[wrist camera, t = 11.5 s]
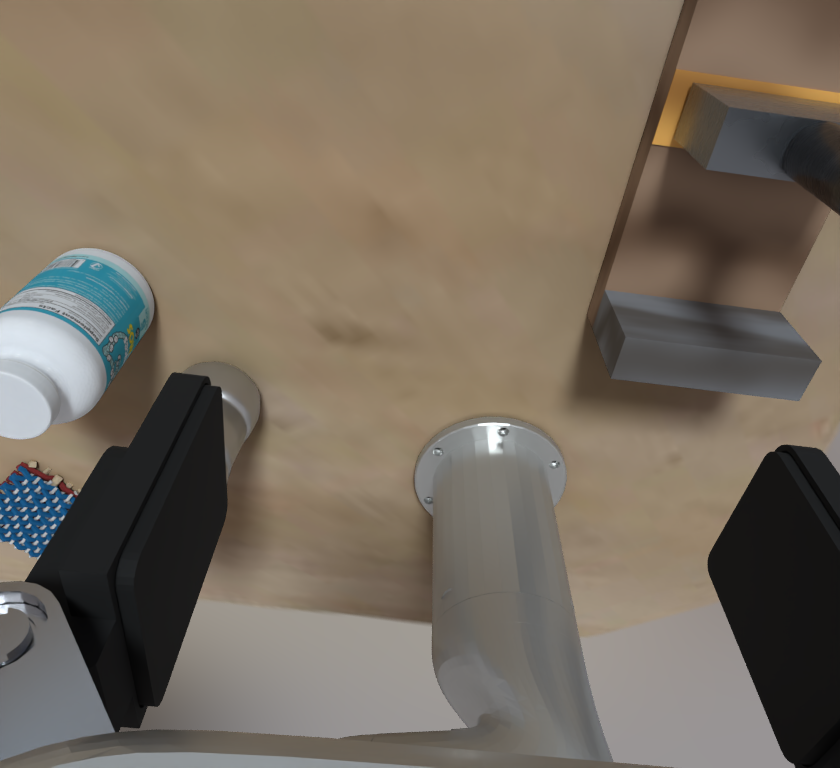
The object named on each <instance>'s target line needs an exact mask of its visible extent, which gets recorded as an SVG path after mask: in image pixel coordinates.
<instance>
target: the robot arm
mask: <svg viewBox="0 0 840 768" xmlns="http://www.w3.org/2000/svg"><path fill="white" fill-rule="evenodd" d="M414 481H415V490H416V493H417V496H418V499H419V501H420V502H421V504H422V505H423V507H424V508H425V510H427V511H428V512H429V513H430V514H431V515H432V516H433V580H432V659H433V666H434V671H435V675H436V678H437V681H438V683H439V685H440V688H441V690H442V692H443V694H444V695H445V697H446V699H447V700H448V702H449V703H450V705H451V706H452V707H453V709H454V710H455V712H456V713H457V714H458V716H459V717H460V718H461V719H462V721H463V722H464V723H465V724H466V726H467V727H468V728H462V729H451V730H450V731H429V732H407V733H387V734H373V735H358V736H349V737H344V738H340V739H333V738H320V737H305V736H289V735H274V734H258V733H243V732H228V731H207V730H204V731H203V730H144V731H128V732H119V730H120V727H129V728H140V725H141V723H142V720H143V717H144V715H145V712H146V709H147V706H155V707H158V706H159V705H160V703H161V701H162V699H163V696H164V694H165V691H166V688H167V685H168V682H169V680H170V677H171V674H172V671H173V668H174V665H175V662H176V660H177V656H178V654H179V651H180V648H181V645H182V642H183V639H184V637H185V634H186V630H187V628H188V625H189V622H190V619H191V616H192V613H193V611H194V608H195V605H196V602H197V599H198V596H199V593H200V591H201V588H202V585H203V582H204V579H205V576H206V573H207V570H208V568H209V565H210V562H211V559H212V556H213V553H214V550H215V547H216V545H217V542H218V539H219V536H220V533H221V530H222V527H223V524H224V521H225V517H226V512H227V482H226V462H225V441H224V421H223V401H222V390H221V387H219V386H211V381H210V378H209V377H208V376H201V375H193V374H184V373H176V372H174V373H172V374H171V375H170V377H169V378H168V380H167V382H166V383H165V385H164V387H163V389H162V390H161V392H160V394H159V396H158V397H157V399H156V401H155V403H154V404H153V406H152V408H151V410H150V411H149V413H148V415H147V417H146V418H145V420H144V422H143V423H142V425H141V427H140V429H139V430H138V432H137V434H136V436H135V437H134V439H133V441H132V443H131V444H130V446H129V448H127V447H118V446H112V447H110V448H108V449H107V450H106V451H105V453H104V454H103V455H102V457H101V458H100V460H99V462H98V463H97V465H96V466H95V468H94V470H93V471H92V473H91V475H90V476H89V478H88V480H87V481H86V483H85V484H84V486H83V488H82V489H81V491H80V493H79V494H78V496H77V497H76V499H75V501H74V502H73V504H72V506H71V507H70V509H69V510H68V512H67V514H66V515H65V517H64V519H63V520H62V522H61V523H60V525H59V527H58V528H57V530H56V532H55V533H54V535H53V536H52V538H51V540H50V541H49V543H48V545H47V546H46V548H45V549H44V551H43V553H42V554H41V556H40V558H39V559H38V561H37V563H36V564H35V566H34V567H33V569H32V571H31V572H30V574H29V576H28V577H27V579H26V580H25V582H23V581H14V582H1V583H0V768H672V767H661V766H650V765H638V764H627V763H615V762H613V759H612V756H611V753H610V751H609V748H608V745H607V742H606V739H605V736H604V733H603V730H602V727H601V724H600V721H599V717H598V714H597V711H596V708H595V704H594V700H593V696H592V692H591V688H590V685H589V680H588V676H587V671H586V667H585V662H584V657H583V652H582V647H581V642H580V637H579V632H578V628H577V622H576V617H575V611H574V606H573V601H572V596H571V591H570V586H569V581H568V577H567V572H566V566H565V561H564V556H563V551H562V546H561V541H560V536H559V531H558V525H557V520H556V515H555V510H554V507H555V506H556V504H557V503H558V502H559V501H560V499H561V497H562V495H563V492H564V490H565V486H566V481H567V474H566V466H565V462H564V458H563V455H562V453H561V451H560V449H559V447H558V446H557V444H556V443H555V442H554V441H553V439H552V438H551V437H550V436H548V435H547V434H546V433H545V432H543V431H542V430H541V429H539V428H537V427H535V426H533V425H531V424H529V423H526V422H523V421H520V420H517V419H512V418H505V417H481V418H474V419H469V420H466V421H463V422H459V423H456V424H454V425H452V426H450V427H448V428H446V429H444V430H443V431H441V432H440V433H438V434H437V435H436V436H434V437H433V438H432V439H431V440H430V441H429V442H428V443H427V444H426V446H425V447H424V448H423V450H422V452H421V453H420V455H419V457H418V460H417V463H416V466H415V478H414ZM708 572H709V575H710V578H711V580H712V583H713V585H714V587H715V590H716V592H717V595H718V597H719V600H720V602H721V605H722V607H723V609H724V612H725V614H726V617H727V619H728V622H729V624H730V626H731V629H732V631H733V634H734V636H735V639H736V641H737V644H738V646H739V648H740V651H741V653H742V656H743V658H744V661H745V663H746V666H747V668H748V670H749V673H750V675H751V678H752V680H753V683H754V685H755V687H756V690H757V692H758V695H759V697H760V700H761V702H762V704H763V707H764V710H765V712H766V714H767V717H768V719H769V722H770V724H771V727H772V729H773V731H774V734H775V736H776V739H777V741H778V744H779V746H780V749H781V751H782V752H783V755H784V756H785V758H786V759H787V760H788V761H789V762H791V763H793V764H794V765H795V768H840V475H839V473H838V472H837V471H836V469H835V468H834V466H833V465H832V463H831V462H830V461H829V459H828V458H827V456H826V455H825V454H824V453H823V452H822V451H821V450H819V449H817V448H811V447H802V446H794V445H781V446H780V447H778V448H777V449H776V450H775V452H769V453H768V454H767V455H766V456H765V457H764V459H763V461H762V463H761V464H760V466H759V468H758V469H757V471H756V473H755V475H754V476H753V478H752V480H751V482H750V483H749V485H748V487H747V489H746V490H745V492H744V494H743V496H742V497H741V499H740V501H739V503H738V504H737V506H736V508H735V510H734V511H733V513H732V515H731V517H730V518H729V520H728V522H727V524H726V525H725V527H724V529H723V531H722V532H721V534H720V536H719V538H718V539H717V541H716V543H715V545H714V546H713V548H712V550H711V552H710V554H709V557H708Z"/></svg>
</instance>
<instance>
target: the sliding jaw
mask: <svg viewBox="0 0 840 768" xmlns="http://www.w3.org/2000/svg"><path fill="white" fill-rule="evenodd" d="M674 139H675V140H676V141H677V142H678V143H679V144H680V145H681V146H682V147H683V148H684V149H685V150H686V151H687V152H688V153H689V154H690V155H691V156H692V157H693V158H694V159H695V160H696V161H698V162H699V163H700V164H701V165H702V166H703V167H704V168H705V169H706V170H712V171H720V172H727V173H734V174H741V175H748V176H756V177H763V178H770V179H777V180H785V181H792V182H796V183H798V184H799V185H800V186H802V187H803V188H804V189H805V190H807V191H808V192H809V193H811V194H812V195H813V196H815V197H816V198H817V199H819V200H820V201H821V202H823V203H824V204H825V205H827V206H828V207H829V208H831V209H832V210H833V211H835V212H836V213H837V214H839V215H840V104H838V103H831V102H824V101H817V100H810V99H803V98H796V97H790V96H783V95H776V94H769V93H762V92H755V91H748V90H742V89H735V88H728V87H721V86H714V85H707V84H700V83H694V82H693V83H692V86H691V89H690V92H689V95H688V98H687V101H686V104H685V107H684V110H683V113H682V116H681V119H680V122H679V124H678V127H677V130H676V133H675V136H674Z"/></svg>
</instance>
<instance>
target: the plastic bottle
mask: <svg viewBox="0 0 840 768" xmlns="http://www.w3.org/2000/svg"><path fill="white" fill-rule="evenodd" d="M183 373H184V374H193V375H201V376H208V377H209V378H210V381H211V386H219V387H221V390H222V401H223V421H224V441H225V462H226V482H228V478H229V475H230V471H231V468H232V465H233V463H234V461H235V459H236V457H237V455H238V453H239V451H240V449H241V447H242V445H243V443H244V442H245V441H246V439H247V438H248V437H249V435H250V434H251V432H252V430H253V428H254V427H255V425H256V423H257V421H258V418H259V414H260V395H259V391H258V389H257V387H256V385H255V384H254V382H253V381H252V380H251V379H250V378H249V376H248V375H247V374H246V373H244V372H243V371H242V370H240V369H239V368H237V367H235V366H233V365H230V364H227V363H223V362H203V363H199V364H195V365H193V366H191V367H189V368H187V369H186V370H185V371H184V372H183Z"/></svg>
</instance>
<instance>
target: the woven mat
mask: <svg viewBox="0 0 840 768" xmlns="http://www.w3.org/2000/svg"><path fill="white" fill-rule="evenodd" d="M36 466H37V461H30V462H29V463H28V464H25V463H23V462H22V463H21V464H20V465H18V466H17V467H16V468H17V470H18V472H19V473H18V472H16V471H15V470H14V471H13V472H12V473H11V475H10V476H8V477H7V479H6V481H8V482H9V483H8V482H6V481H4V482H3V483H2V484H0V489H1V491H0V539H1V540H0V542H9V544H14V545H15V547H14V548H15V549H18V550H25V551H24V552H25V553H29V555H30V556H29V557H30V558H31V557H37V558H36V559H39V558H40V556H41V554H42V553H43V551H44V549H45V548H46V546H47V545H48V543H49V541H50V540H51V538H52V536H53V535H54V533H55V532H56V530H57V528H58V527H59V525H60V523H61V522H62V520H63V519H64V517H65V515H66V514H67V512H68V509H70V507H71V506H72V504H73V502H74V501H75V499H76V497H77V496H78V494H79V493H80V491H81V489H79V490H77V491H72V490H70V488H71V487H72V486H73V485H72V484H70V483H69V482H68V483H67V484H66V485H65V484H64V483H63V481H62V480H63V478H62V477H60V476H59V475H57V474H56V475H55V476H48V474H49V473H50V471H51V470H52V469H50V468H47V469H46V470H44V471H43V472H40V471H38V470H36V469H34V468H36ZM31 473H32V474H31ZM34 475H36V476H34ZM43 480H49V482H47V481H43ZM57 486H59V487H60V490H59V489H58V487H57ZM49 491H50V492H49ZM53 494H55V495H53ZM25 498H26V499H25ZM63 499H65V500H63ZM20 508H21V509H20ZM49 512H50V513H49ZM15 533H16V534H15ZM4 534H5V535H4ZM41 534H42V535H41ZM9 536H10V537H9ZM18 541H20V542H18ZM22 543H23V544H22ZM21 544H22V545H21ZM33 550H34V551H33Z"/></svg>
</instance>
